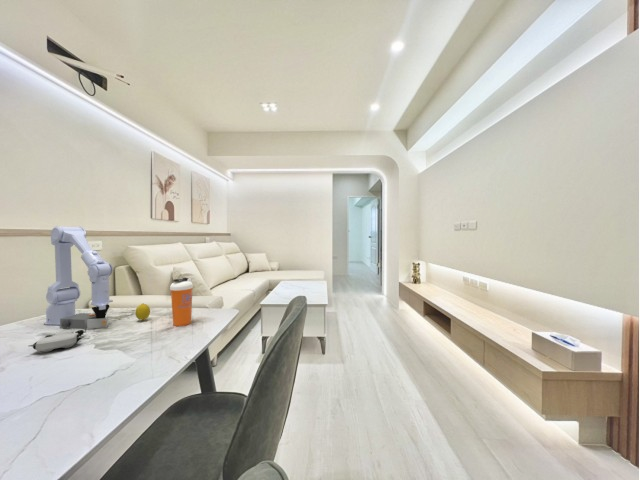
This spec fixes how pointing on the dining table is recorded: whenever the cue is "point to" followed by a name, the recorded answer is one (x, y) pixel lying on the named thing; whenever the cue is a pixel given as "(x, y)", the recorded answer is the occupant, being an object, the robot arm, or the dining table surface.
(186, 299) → the shaker bottle
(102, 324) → the door
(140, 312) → the lemon
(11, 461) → the dining table surface
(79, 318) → the case
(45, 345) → the robot toy
